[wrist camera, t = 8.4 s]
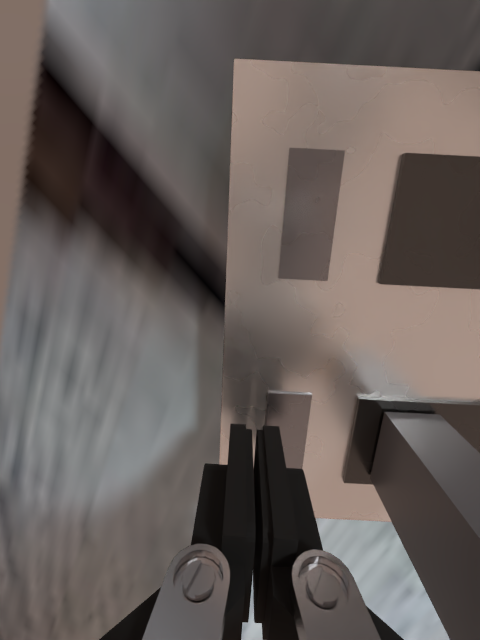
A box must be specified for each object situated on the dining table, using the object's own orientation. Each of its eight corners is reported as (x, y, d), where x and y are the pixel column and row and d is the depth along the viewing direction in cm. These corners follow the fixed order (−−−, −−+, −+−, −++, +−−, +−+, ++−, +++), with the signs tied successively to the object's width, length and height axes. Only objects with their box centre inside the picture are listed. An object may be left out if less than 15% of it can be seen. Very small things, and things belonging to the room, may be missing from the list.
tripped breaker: (384, 411, 11) (566, 653, 5) (439, 414, 11) (691, 659, 5) (370, 477, 12) (507, 755, 6) (421, 480, 12) (615, 761, 6)
